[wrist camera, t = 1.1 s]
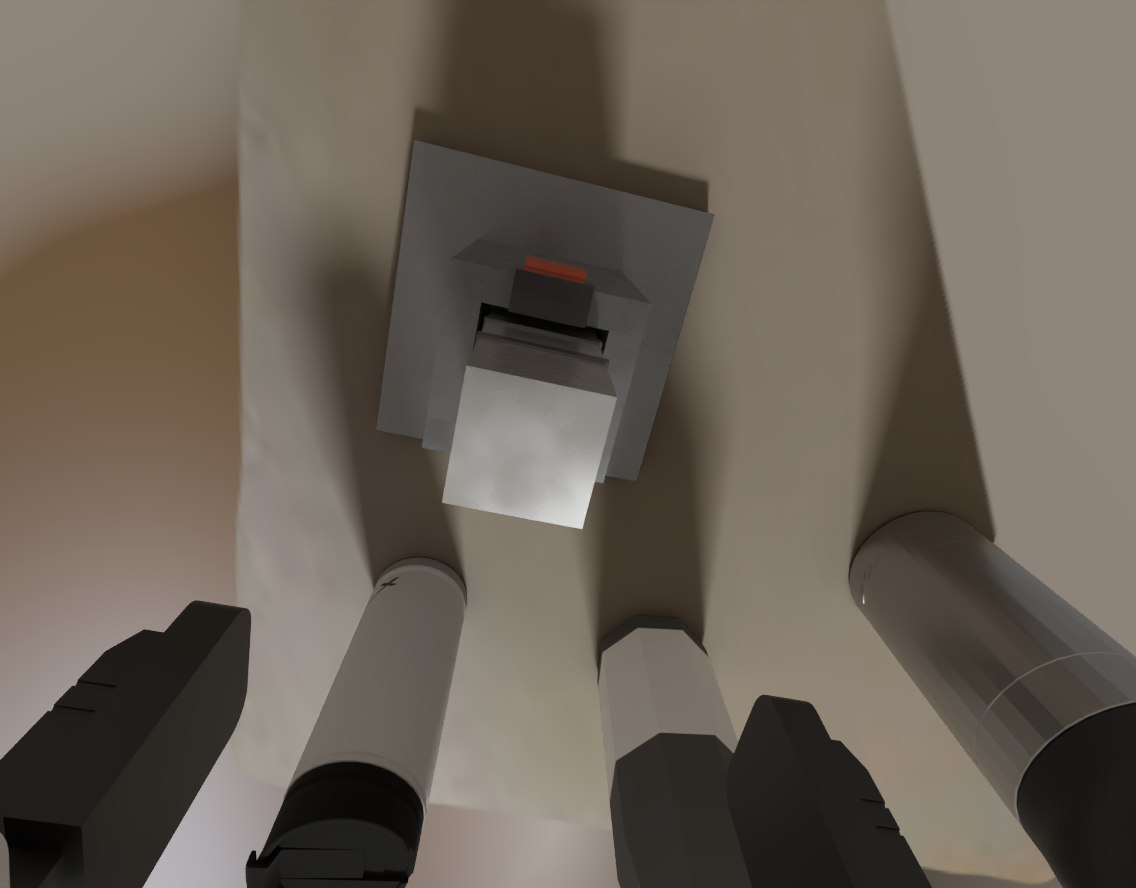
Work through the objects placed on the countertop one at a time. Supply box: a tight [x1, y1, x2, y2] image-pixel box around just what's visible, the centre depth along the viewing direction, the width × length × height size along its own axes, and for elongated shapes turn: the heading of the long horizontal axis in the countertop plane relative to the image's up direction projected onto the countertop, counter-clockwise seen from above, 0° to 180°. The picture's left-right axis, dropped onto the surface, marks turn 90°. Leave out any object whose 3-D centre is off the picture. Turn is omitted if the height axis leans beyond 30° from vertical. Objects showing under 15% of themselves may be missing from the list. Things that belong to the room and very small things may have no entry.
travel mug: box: [246, 558, 467, 888], centre depth 35 cm, size 6×7×20 cm
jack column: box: [442, 305, 617, 529], centre depth 28 cm, size 5×5×18 cm
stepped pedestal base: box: [376, 140, 715, 483], centre depth 32 cm, size 16×16×13 cm
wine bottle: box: [598, 615, 752, 888], centre depth 33 cm, size 8×8×30 cm
